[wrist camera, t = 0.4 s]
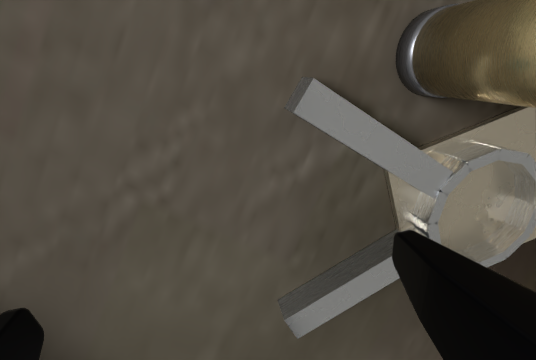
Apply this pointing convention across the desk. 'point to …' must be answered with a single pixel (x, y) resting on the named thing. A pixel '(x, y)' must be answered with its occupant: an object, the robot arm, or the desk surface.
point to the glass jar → (472, 52)
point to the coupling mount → (423, 196)
